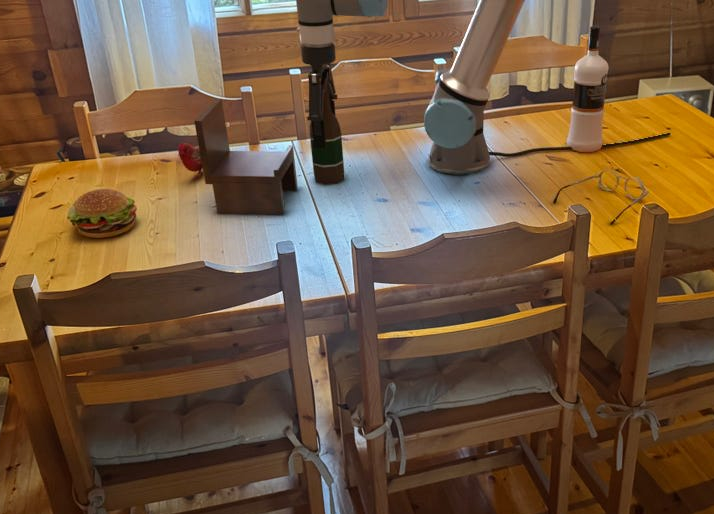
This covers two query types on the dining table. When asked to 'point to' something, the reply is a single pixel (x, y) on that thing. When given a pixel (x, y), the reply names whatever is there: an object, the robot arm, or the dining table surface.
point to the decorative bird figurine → (190, 158)
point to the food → (103, 213)
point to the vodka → (588, 98)
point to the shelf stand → (242, 169)
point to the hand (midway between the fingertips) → (325, 137)
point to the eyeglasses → (610, 190)
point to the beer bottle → (328, 148)
